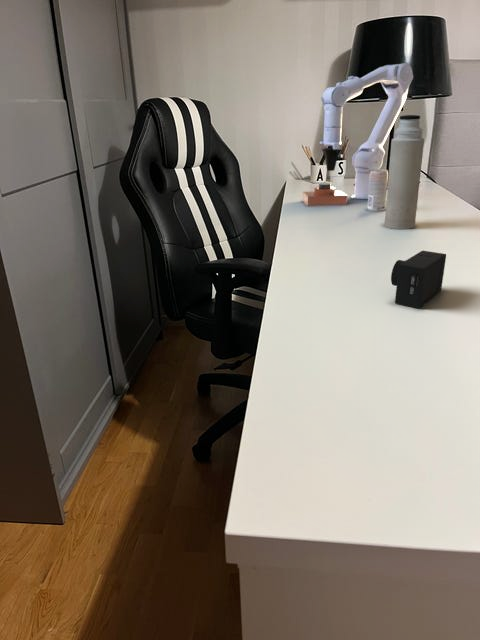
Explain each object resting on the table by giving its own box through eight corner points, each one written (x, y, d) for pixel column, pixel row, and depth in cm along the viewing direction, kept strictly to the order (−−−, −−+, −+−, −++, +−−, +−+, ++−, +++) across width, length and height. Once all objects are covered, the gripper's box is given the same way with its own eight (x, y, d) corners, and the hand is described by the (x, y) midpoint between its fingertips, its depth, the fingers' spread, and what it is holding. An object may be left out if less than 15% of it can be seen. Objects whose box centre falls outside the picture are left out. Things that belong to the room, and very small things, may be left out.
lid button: (329, 188, 171) (329, 182, 170) (331, 189, 167) (332, 184, 166) (317, 188, 170) (317, 183, 170) (320, 190, 167) (320, 184, 166)
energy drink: (383, 208, 160) (386, 169, 155) (386, 211, 155) (389, 171, 150) (366, 208, 160) (369, 169, 155) (368, 211, 155) (371, 171, 151)
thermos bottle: (413, 222, 139) (424, 114, 128) (416, 229, 132) (429, 115, 121) (383, 222, 141) (392, 115, 130) (385, 228, 134) (395, 115, 123)
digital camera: (411, 285, 92) (415, 248, 90) (441, 291, 89) (446, 253, 86) (387, 302, 85) (391, 262, 82) (419, 309, 82) (424, 268, 79)
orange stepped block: (339, 199, 175) (340, 185, 173) (346, 204, 166) (347, 189, 164) (302, 201, 175) (303, 186, 173) (307, 206, 166) (308, 191, 164)
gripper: (316, 126, 169) (314, 168, 175) (325, 128, 156) (323, 173, 161) (337, 126, 170) (334, 167, 175) (347, 127, 156) (344, 172, 162)
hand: (330, 170), depth 168 cm, fingers closed
